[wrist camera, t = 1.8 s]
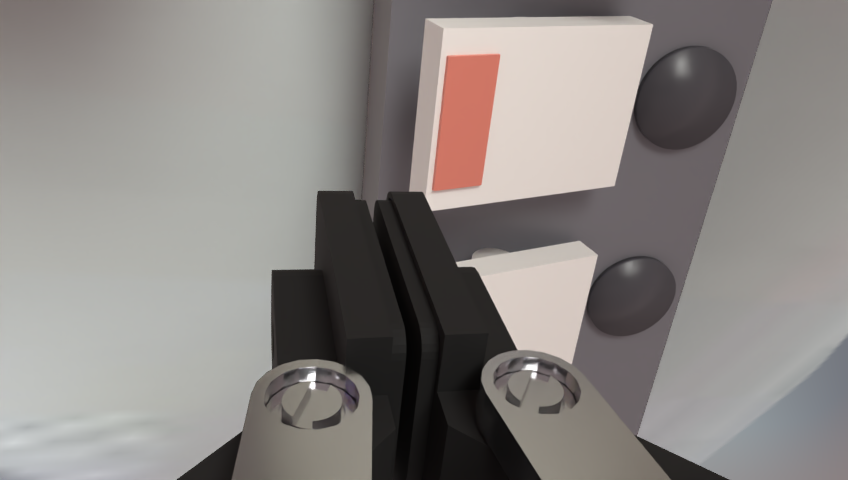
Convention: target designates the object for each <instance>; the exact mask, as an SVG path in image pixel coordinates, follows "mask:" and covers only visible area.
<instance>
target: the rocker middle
mask: <svg viewBox="0 0 848 480" xmlns="http://www.w3.org/2000/svg"><path fill="white" fill-rule="evenodd" d="M652 28H653V24H651V23H648V22H645V21H643V20H640V19H637V18H635V17H632V16H581V17H502V18H425V29H424V39H423V50H422V61H421V71H420V82H419V92H418V103H417V113H416V124H415V134H414V145H413V156H412V166H411V177H410V187H409V192H423V193H424V195H425V197H426V199H427V202H428V204H429V206H430V208H431V210H432V211H436V210H443V209H451V208H458V207H465V206H473V205H480V204H487V203H494V202H502V201H509V200H516V199H524V198H531V197H538V196H546V195H553V194H560V193H567V192H575V191H582V190H589V189H597V188H604V187H611V186H615V182H616V178H617V174H618V169H619V165H620V161H621V157H622V153H623V149H624V144H625V140H626V136H627V132H628V128H629V124H630V119H631V115H632V111H633V107H634V103H635V99H636V94H637V90H638V86H639V82H640V78H641V74H642V69H643V65H644V61H645V57H646V53H647V49H648V44H649V40H650V36H651V32H652Z"/></svg>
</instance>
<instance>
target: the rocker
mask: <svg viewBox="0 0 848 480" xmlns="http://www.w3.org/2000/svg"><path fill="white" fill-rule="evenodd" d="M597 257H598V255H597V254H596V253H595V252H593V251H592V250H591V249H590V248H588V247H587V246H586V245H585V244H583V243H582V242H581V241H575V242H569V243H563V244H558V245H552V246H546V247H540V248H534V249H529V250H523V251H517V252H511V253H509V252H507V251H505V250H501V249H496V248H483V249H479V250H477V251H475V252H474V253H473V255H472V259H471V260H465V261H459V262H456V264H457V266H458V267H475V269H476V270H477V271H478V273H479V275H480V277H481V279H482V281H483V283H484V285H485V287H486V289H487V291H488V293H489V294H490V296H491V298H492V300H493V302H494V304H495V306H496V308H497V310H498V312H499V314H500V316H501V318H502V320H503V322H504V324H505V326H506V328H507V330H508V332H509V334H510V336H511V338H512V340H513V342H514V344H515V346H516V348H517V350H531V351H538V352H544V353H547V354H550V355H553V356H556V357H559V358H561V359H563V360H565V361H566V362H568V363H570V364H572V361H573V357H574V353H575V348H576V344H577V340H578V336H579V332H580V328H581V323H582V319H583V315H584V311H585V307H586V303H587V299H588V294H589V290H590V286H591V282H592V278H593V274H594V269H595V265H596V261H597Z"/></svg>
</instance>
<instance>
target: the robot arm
mask: <svg viewBox="0 0 848 480" xmlns="http://www.w3.org/2000/svg"><path fill="white" fill-rule="evenodd" d="M271 337H272V370H270V371H268V372H267V373H266V374H265V375H264V376H263V377H261V378H260V379H259V380H258V381H257V383H256V385H255V387H254V389H253V391H252V393H251V397H250V401H249V405H248V410H247V414H246V419H245V423H244V427H243V431H242V432H241V433H239V434H238V435H237V436H235V437H234V438H233V439H231V440H230V441H228V442H227V443H226V444H224V445H223V446H222V447H220V448H219V449H218V450H216V451H215V452H214V453H212V454H211V455H210V456H208V457H207V458H205V459H204V460H203V461H201V462H200V463H199V464H197V465H196V466H195V467H193V468H192V469H191V470H189V471H188V472H187V473H185V474H184V475H182V476H181V477H180V478H178V479H177V480H729V479H726V478H724V477H722V476H720V475H718V474H716V473H714V472H712V471H710V470H707V469H705V468H703V467H701V466H699V465H697V464H695V463H693V462H691V461H688V460H686V459H684V458H682V457H680V456H678V455H676V454H674V453H671V452H669V451H667V450H665V449H663V448H661V447H659V446H657V445H654V444H652V443H650V442H648V441H646V440H644V439H642V438H640V437H637V436H635V435H634V434H633V433H632V432H631V431H630V430H629V428H628V427H627V426H626V425H625V424H624V422H623V421H622V420H621V419H620V417H619V416H618V415H617V414H616V413H615V411H614V410H613V409H612V408H611V407H610V405H609V404H608V403H607V402H606V401H605V399H604V398H603V397H602V396H601V395H600V393H599V392H598V391H597V390H596V389H595V387H594V386H593V385H592V384H591V383H590V381H589V380H588V379H587V378H586V377H585V375H583V374H582V373H581V372H580V371H579V370H578V369H577V368H576V367H575V366H573V365H572V364H570V363H568V362H566V361H565V360H563V359H561V358H559V357H556V356H553V355H550V354H547V353H544V352H538V351H531V350H517V348H516V346H515V344H514V342H513V340H512V338H511V336H510V334H509V332H508V330H507V328H506V326H505V324H504V322H503V320H502V318H501V316H500V314H499V312H498V310H497V308H496V306H495V304H494V302H493V300H492V298H491V296H490V294H489V293H488V291H487V289H486V287H485V285H484V283H483V281H482V279H481V277H480V275H479V273H478V271H477V270H476V269H475V267H458V266H457V264H456V262H455V260H454V257H453V255H452V253H451V251H450V249H449V247H448V244H447V242H446V240H445V238H444V236H443V234H442V232H441V229H440V227H439V225H438V223H437V221H436V219H435V217H434V214H433V212H432V210H431V208H430V206H429V204H428V202H427V199H426V197H425V195H424V193H423V192H400V191H390V192H388V194H387V198H386V200H376V202H375V206H374V216H373V222H372V218H371V215H370V212H369V209H368V205H367V202H366V200H355V197H354V194H353V191H318V195H317V210H316V238H315V266H314V269H310V270H272V286H271Z"/></svg>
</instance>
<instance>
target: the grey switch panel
mask: <svg viewBox="0 0 848 480" xmlns="http://www.w3.org/2000/svg"><path fill="white" fill-rule="evenodd" d="M771 3H772V0H374V7H373V24H372V40H371V56H370V73H369V89H368V105H367V122H366V138H365V154H364V171H363V187H362V200H366V202H367V205H368V209H369V212H370V215H371V218H372V222H373V216H374V206H375V202H376V200H386V198H387V194H388V192H390V191H400V192H409V187H410V177H411V166H412V156H413V145H414V134H415V124H416V113H417V103H418V92H419V82H420V71H421V61H422V50H423V39H424V29H425V18H502V17H581V16H632V17H635V18H637V19H640V20H643V21H645V22H648V23H651V24H653V28H652V32H651V36H650V40H649V44H648V49H647V53H646V57H645V61H644V65H643V69H642V74H641V78H640V82H639V86H638V90H637V94H636V99H635V103H634V107H633V111H632V115H631V119H630V124H629V128H628V132H627V136H626V140H625V144H624V149H623V153H622V157H621V161H620V165H619V169H618V174H617V178H616V182H615V186H611V187H604V188H597V189H589V190H582V191H575V192H567V193H560V194H553V195H546V196H538V197H531V198H524V199H516V200H509V201H502V202H494V203H487V204H480V205H473V206H465V207H458V208H451V209H443V210H436V211H432V212H433V214H434V217H435V219H436V221H437V223H438V225H439V227H440V229H441V232H442V234H443V236H444V238H445V240H446V242H447V244H448V247H449V249H450V251H451V253H452V255H453V257H454V260H455V262H459V261H465V260H471V259H472V255H473V253H474V252H475V251H477V250H479V249H483V248H496V249H501V250H505V251H507V252H509V253H511V252H517V251H523V250H529V249H534V248H540V247H546V246H552V245H558V244H563V243H569V242H575V241H581V242H582V243H583V244H585V245H586V246H587V247H588V248H590V249H591V250H592V251H593V252H595V253H596V254H597V255H598V257H597V261H596V265H595V269H594V274H593V278H592V282H591V286H590V290H589V294H588V299H587V303H586V307H585V311H584V315H583V319H582V323H581V328H580V332H579V336H578V340H577V344H576V348H575V353H574V357H573V361H572V365H573V366H575V367H576V368H577V369H578V370H579V371H580V372H581V373H582V374H583V375H585V377H586V378H587V379H588V380H589V381H590V383H591V384H592V385H593V386H594V387H595V389H596V390H597V391H598V392H599V393H600V395H601V396H602V397H603V398H604V399H605V401H606V402H607V403H608V404H609V405H610V407H611V408H612V409H613V410H614V411H615V413H616V414H617V415H618V416H619V417H620V419H621V420H622V421H623V422H624V424H625V425H626V426H627V427H628V428H629V430H630V431H631V432H632V433H633V434H634V435H635V436H637V434H638V431H639V428H640V424H641V421H642V418H643V415H644V412H645V408H646V405H647V402H648V399H649V395H650V392H651V389H652V386H653V383H654V379H655V376H656V373H657V370H658V367H659V363H660V360H661V357H662V354H663V350H664V347H665V344H666V341H667V338H668V334H669V331H670V328H671V325H672V322H673V318H674V315H675V312H676V309H677V305H678V302H679V299H680V296H681V293H682V289H683V286H684V283H685V280H686V277H687V273H688V270H689V267H690V264H691V261H692V257H693V254H694V251H695V248H696V244H697V241H698V238H699V235H700V232H701V228H702V225H703V222H704V219H705V216H706V212H707V209H708V206H709V203H710V199H711V196H712V193H713V190H714V187H715V183H716V180H717V177H718V174H719V171H720V167H721V164H722V161H723V158H724V154H725V151H726V148H727V145H728V142H729V138H730V135H731V132H732V129H733V126H734V122H735V119H736V116H737V113H738V109H739V106H740V103H741V100H742V97H743V93H744V90H745V87H746V84H747V81H748V77H749V74H750V71H751V68H752V65H753V61H754V58H755V55H756V52H757V48H758V45H759V42H760V39H761V36H762V32H763V29H764V26H765V23H766V20H767V16H768V13H769V10H770V7H771Z"/></svg>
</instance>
